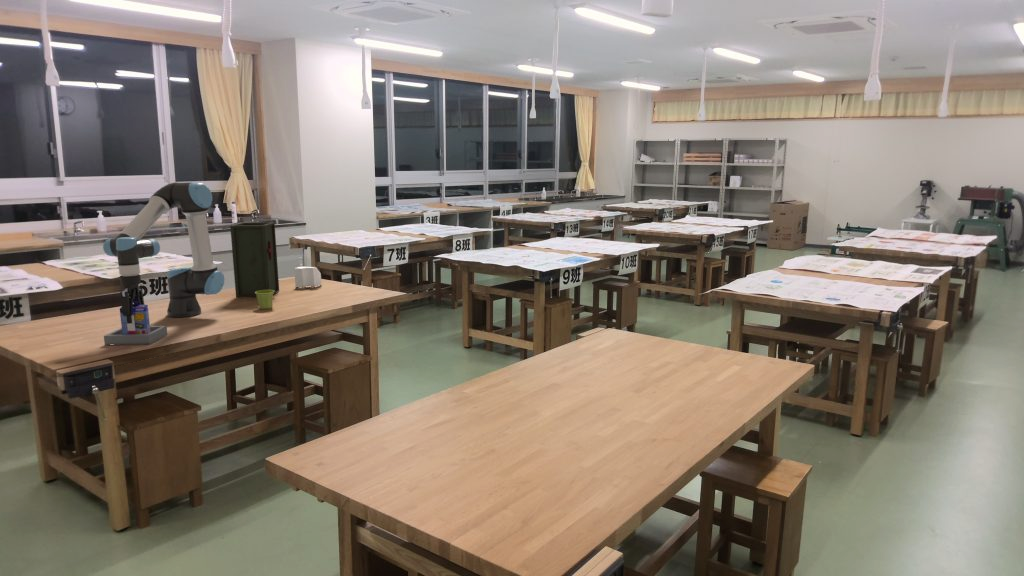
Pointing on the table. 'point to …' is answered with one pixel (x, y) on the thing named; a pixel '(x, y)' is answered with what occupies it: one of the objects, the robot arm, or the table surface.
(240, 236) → the first aid box
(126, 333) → the ink cartridge box
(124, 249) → the robot arm
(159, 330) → the tray
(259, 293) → the plant pot
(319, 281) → the white rounded block
